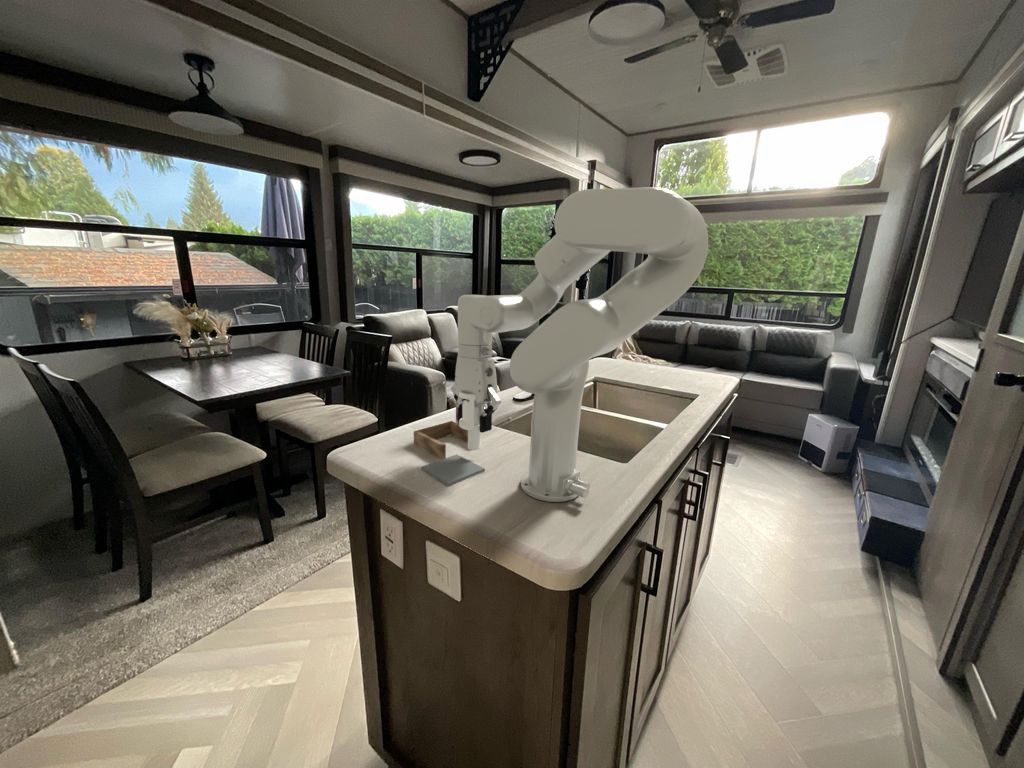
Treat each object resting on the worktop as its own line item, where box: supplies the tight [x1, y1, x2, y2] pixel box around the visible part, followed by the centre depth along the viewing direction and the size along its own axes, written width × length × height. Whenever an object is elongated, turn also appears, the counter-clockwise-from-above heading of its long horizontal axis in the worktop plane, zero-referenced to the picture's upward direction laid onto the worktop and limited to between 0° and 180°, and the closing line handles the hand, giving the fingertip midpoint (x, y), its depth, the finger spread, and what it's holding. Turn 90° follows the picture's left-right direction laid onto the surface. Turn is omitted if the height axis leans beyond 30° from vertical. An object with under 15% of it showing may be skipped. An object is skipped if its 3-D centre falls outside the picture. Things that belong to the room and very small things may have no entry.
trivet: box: [420, 454, 486, 487], centre depth 89 cm, size 10×10×1 cm
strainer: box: [459, 390, 488, 451], centre depth 93 cm, size 7×7×15 cm
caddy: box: [413, 420, 468, 460], centre depth 102 cm, size 12×12×4 cm
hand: (474, 426), depth 93 cm, fingers closed on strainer, 7 cm apart
